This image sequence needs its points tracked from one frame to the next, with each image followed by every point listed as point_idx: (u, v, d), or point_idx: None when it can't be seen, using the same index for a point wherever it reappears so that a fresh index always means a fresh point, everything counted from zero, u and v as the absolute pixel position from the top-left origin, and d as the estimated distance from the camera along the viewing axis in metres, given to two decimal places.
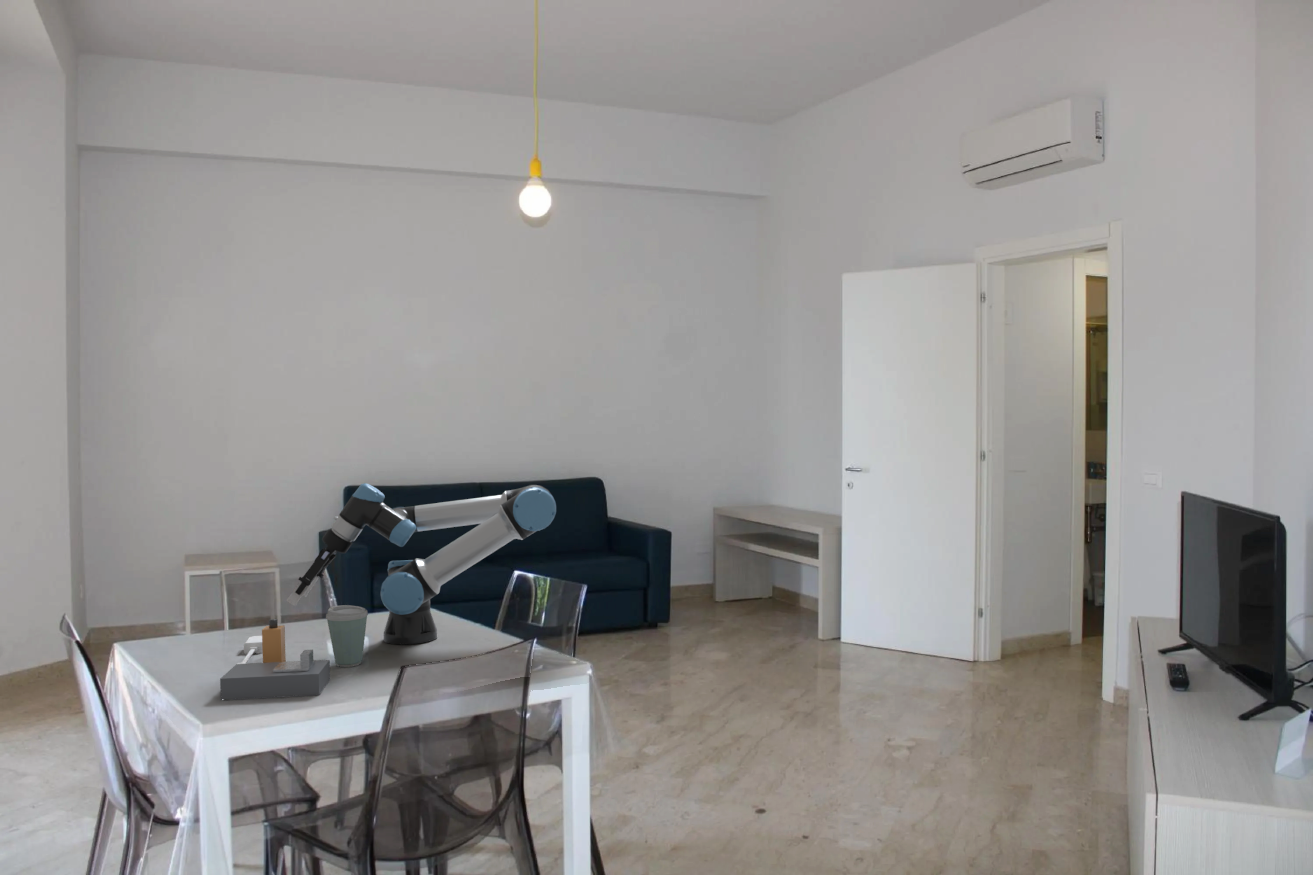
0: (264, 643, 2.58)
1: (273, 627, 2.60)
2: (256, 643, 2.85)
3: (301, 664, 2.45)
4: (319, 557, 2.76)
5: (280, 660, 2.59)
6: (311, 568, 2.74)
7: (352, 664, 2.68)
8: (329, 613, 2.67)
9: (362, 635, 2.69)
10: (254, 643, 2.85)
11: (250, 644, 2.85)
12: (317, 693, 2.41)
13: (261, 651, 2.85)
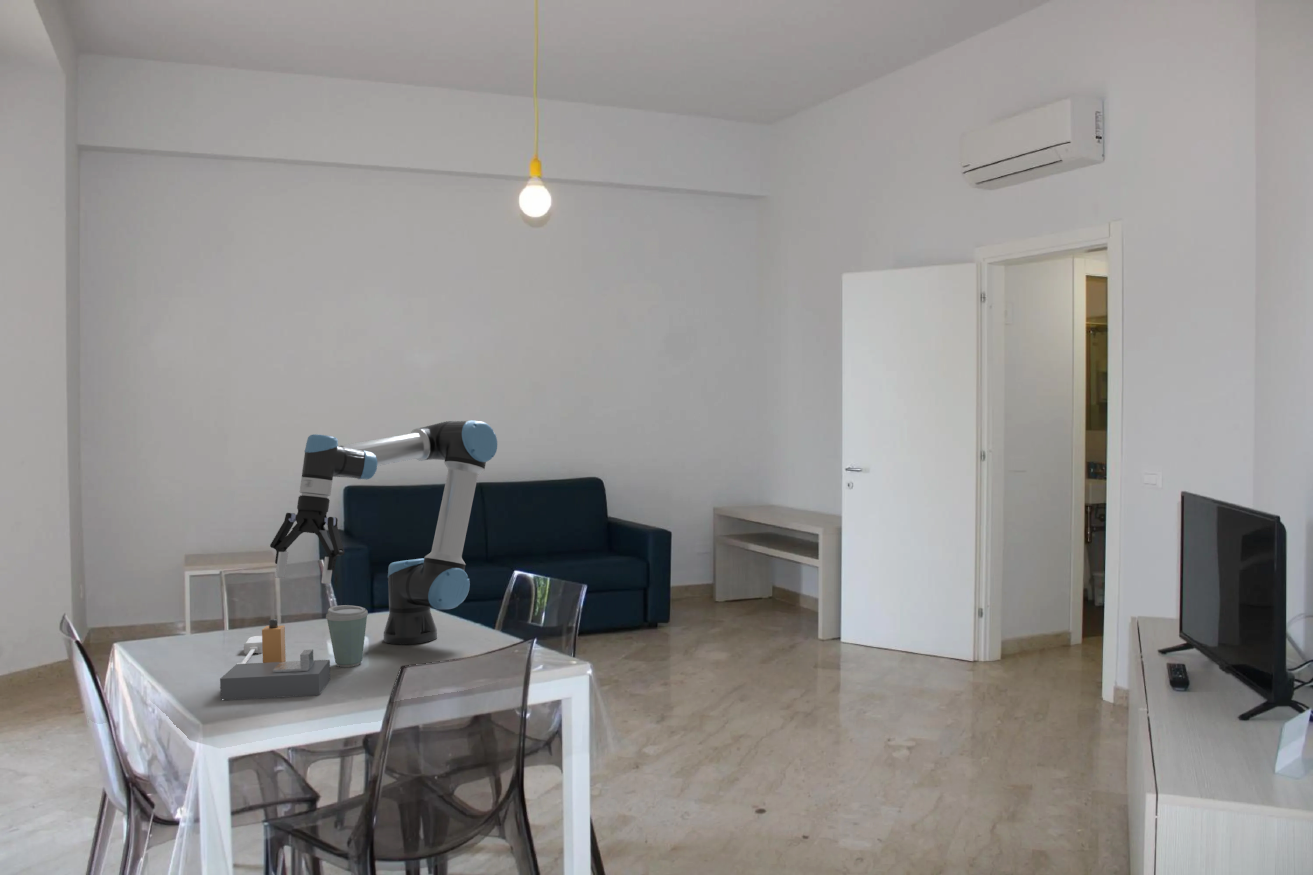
0: (264, 643, 2.58)
1: (273, 627, 2.60)
2: (256, 643, 2.85)
3: (301, 664, 2.45)
4: (332, 525, 2.56)
5: (280, 660, 2.59)
6: (336, 539, 2.56)
7: (352, 664, 2.68)
8: (329, 613, 2.67)
9: (362, 635, 2.69)
10: (254, 643, 2.85)
11: (250, 644, 2.84)
12: (317, 693, 2.41)
13: (261, 651, 2.85)
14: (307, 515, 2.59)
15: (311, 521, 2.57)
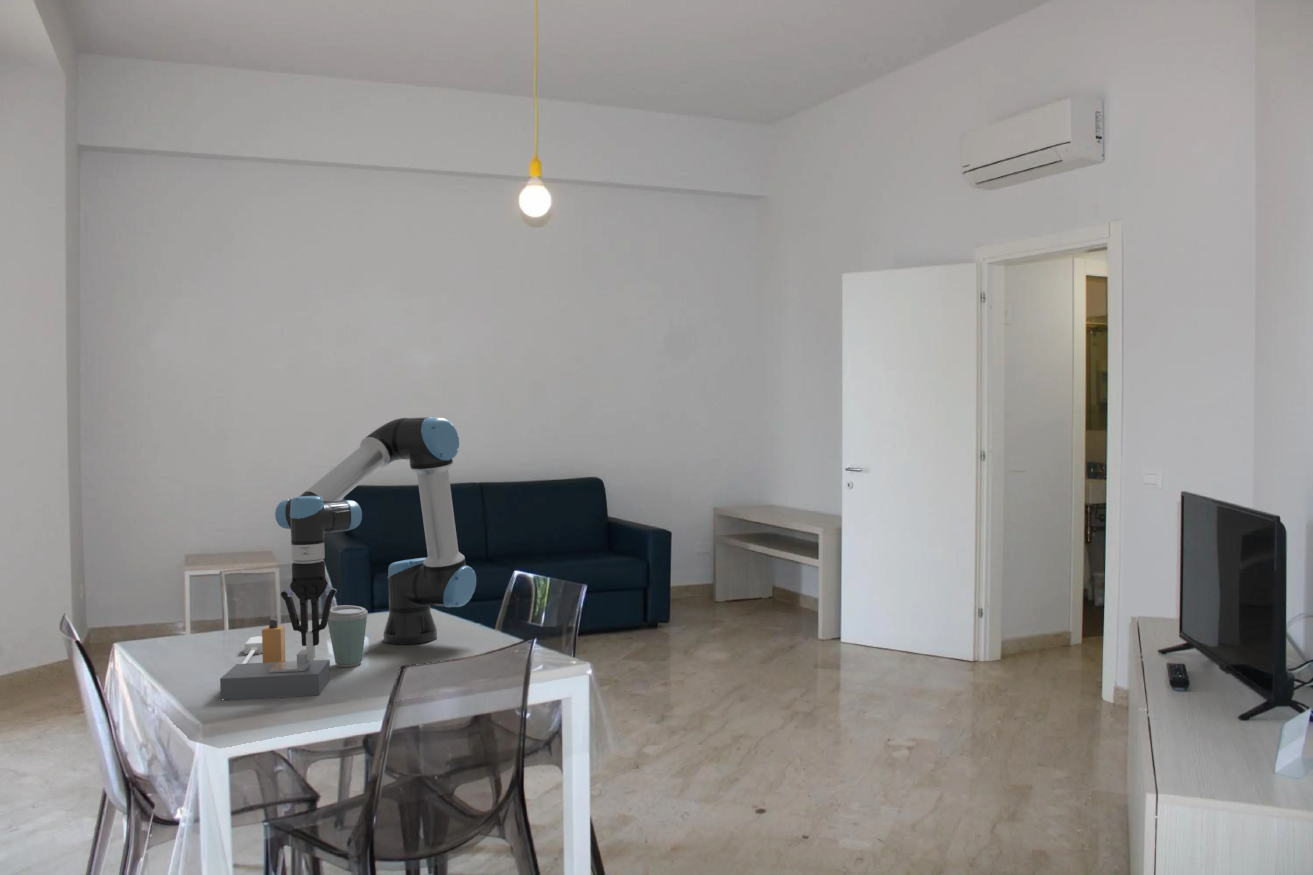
0: (264, 643, 2.58)
1: (273, 627, 2.60)
2: (256, 644, 2.84)
3: (298, 664, 2.45)
4: (331, 598, 2.47)
5: (280, 660, 2.59)
6: (328, 613, 2.47)
7: (352, 664, 2.68)
8: (329, 613, 2.67)
9: (362, 635, 2.69)
10: (254, 644, 2.84)
11: (250, 645, 2.84)
12: (317, 693, 2.41)
13: (261, 652, 2.85)
14: (305, 582, 2.46)
15: (313, 589, 2.45)
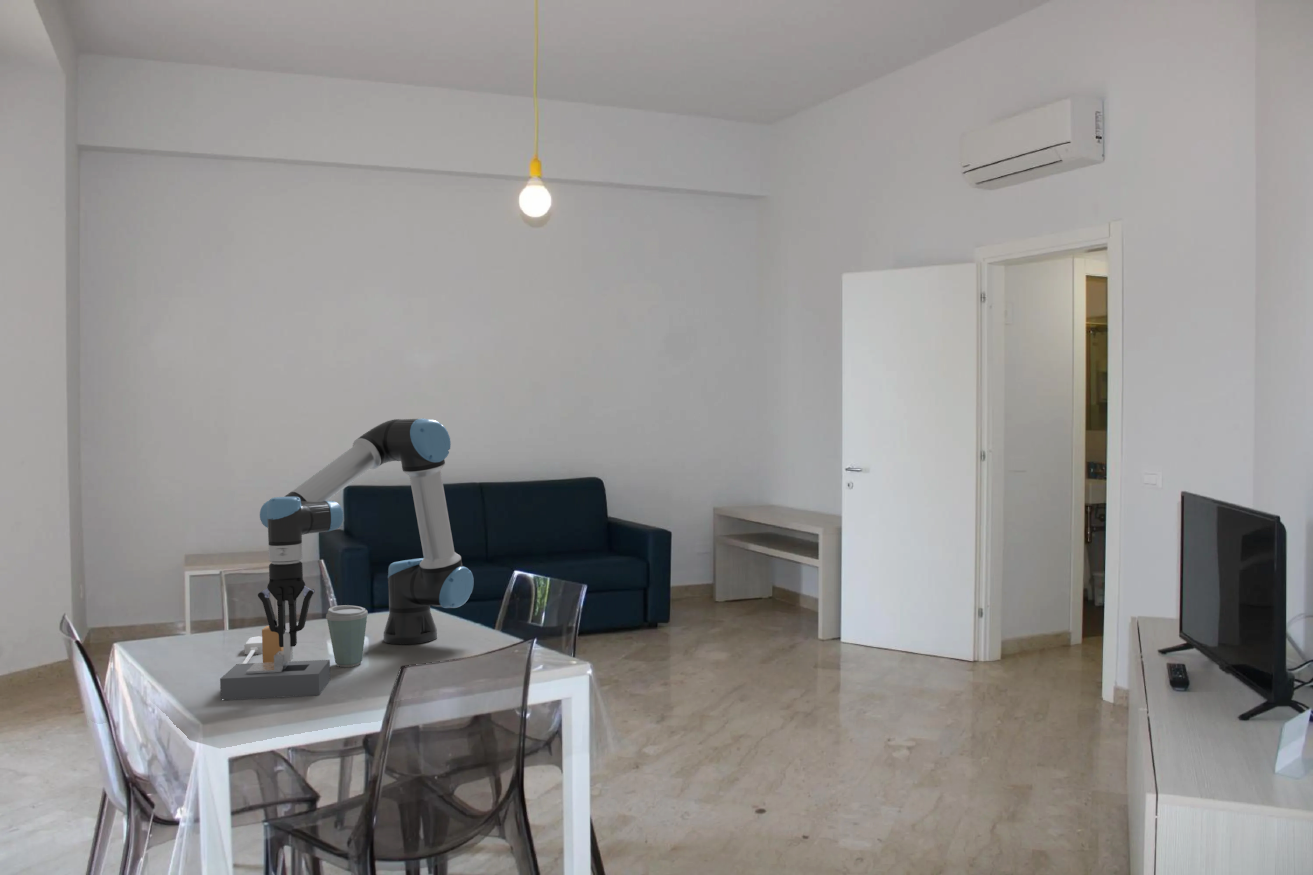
0: (264, 643, 2.58)
1: None
2: (256, 644, 2.84)
3: (275, 665, 2.44)
4: (309, 599, 2.46)
5: None
6: (305, 614, 2.46)
7: (352, 664, 2.68)
8: (329, 613, 2.67)
9: (362, 635, 2.69)
10: (254, 644, 2.84)
11: (250, 645, 2.84)
12: (317, 693, 2.41)
13: (261, 652, 2.85)
14: (283, 583, 2.45)
15: (291, 590, 2.45)
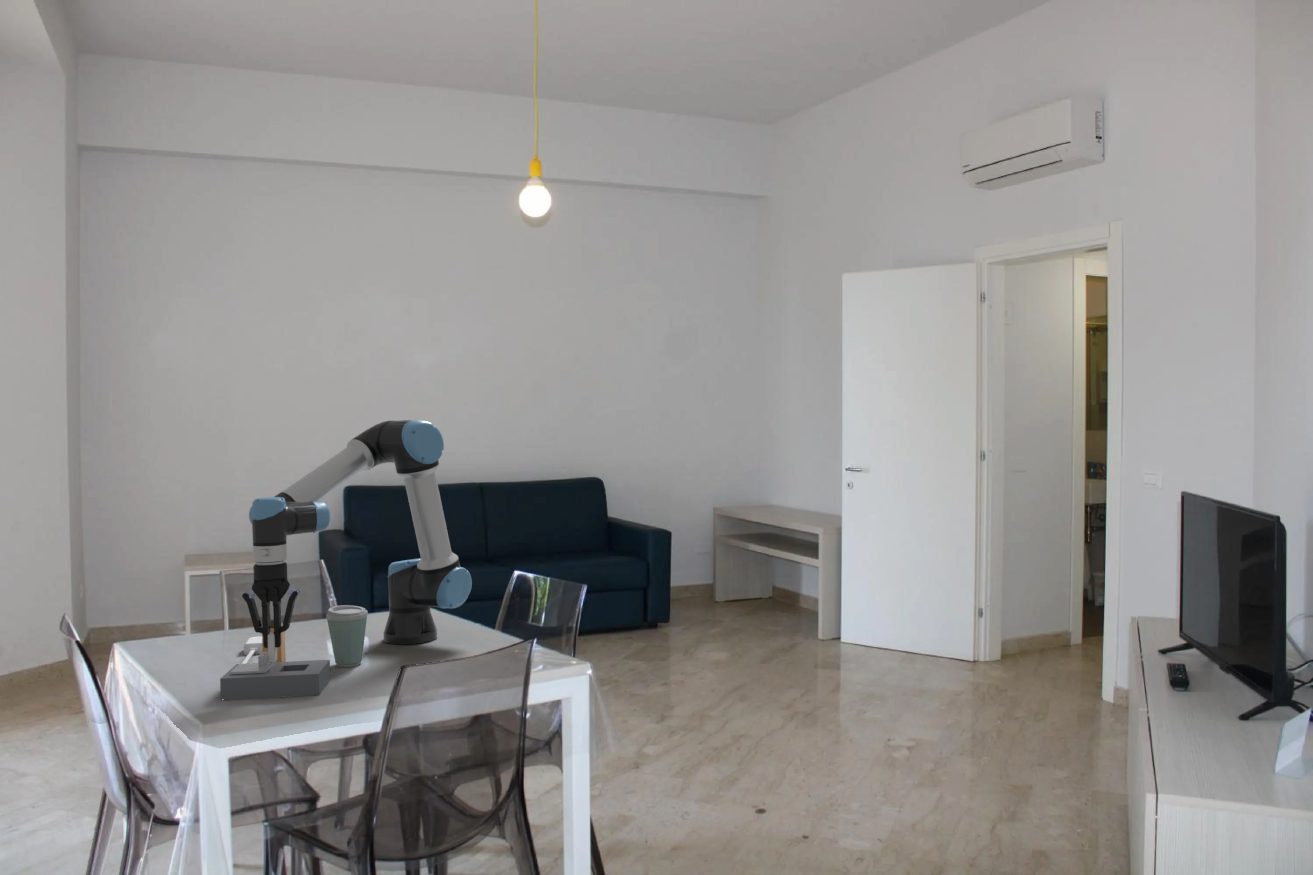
0: None
1: (273, 627, 2.60)
2: (256, 644, 2.84)
3: (259, 666, 2.44)
4: (293, 600, 2.46)
5: (280, 660, 2.59)
6: (290, 615, 2.46)
7: (352, 664, 2.68)
8: (329, 613, 2.67)
9: (362, 635, 2.69)
10: (254, 644, 2.84)
11: (250, 645, 2.84)
12: (317, 693, 2.41)
13: (261, 652, 2.84)
14: (267, 584, 2.45)
15: (275, 591, 2.44)
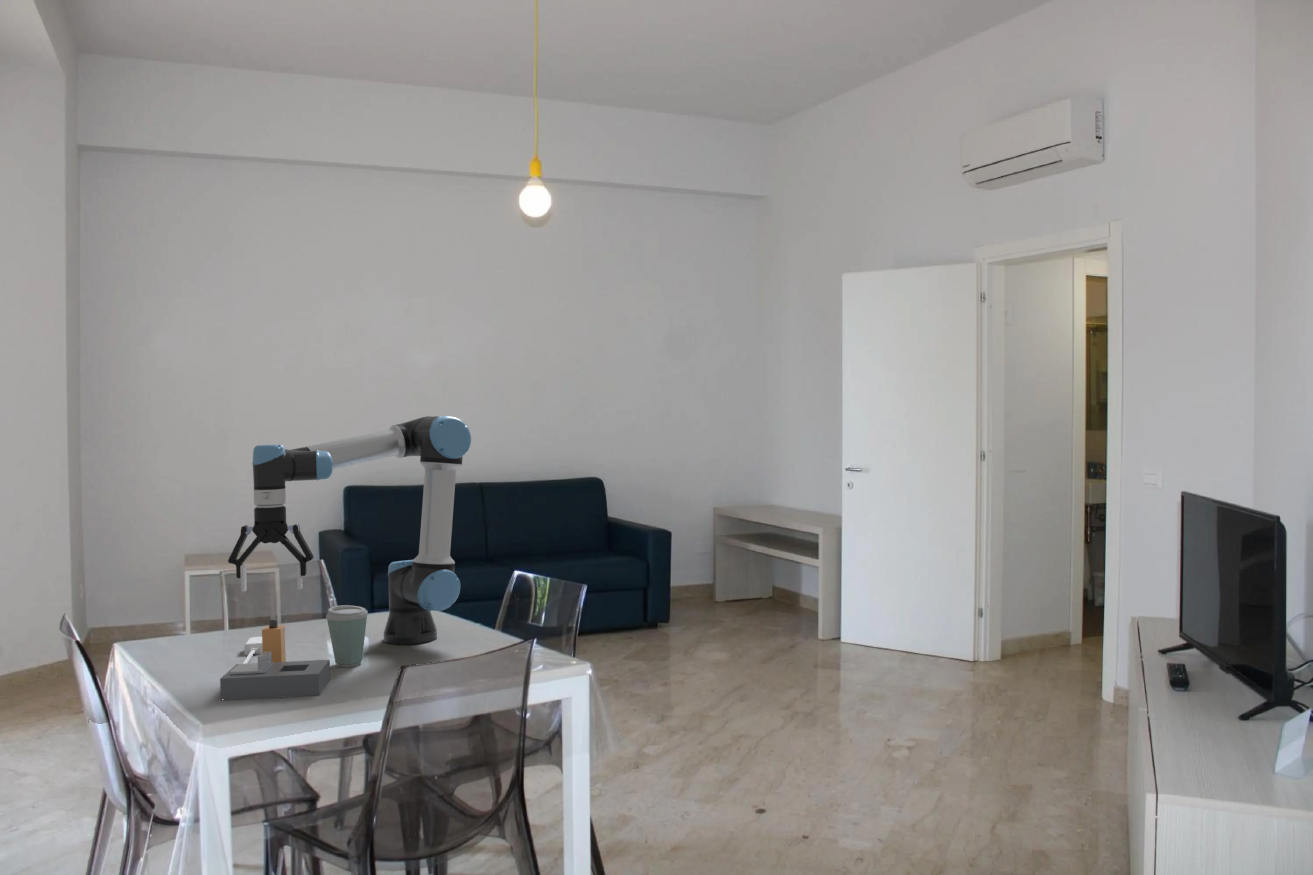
0: (264, 643, 2.58)
1: (273, 627, 2.60)
2: (256, 644, 2.84)
3: (258, 666, 2.44)
4: (298, 532, 2.60)
5: (280, 660, 2.59)
6: (305, 545, 2.60)
7: (352, 664, 2.68)
8: (329, 613, 2.67)
9: (362, 635, 2.69)
10: (254, 644, 2.84)
11: (250, 645, 2.83)
12: (317, 693, 2.41)
13: (261, 652, 2.84)
14: (267, 526, 2.59)
15: (275, 532, 2.58)
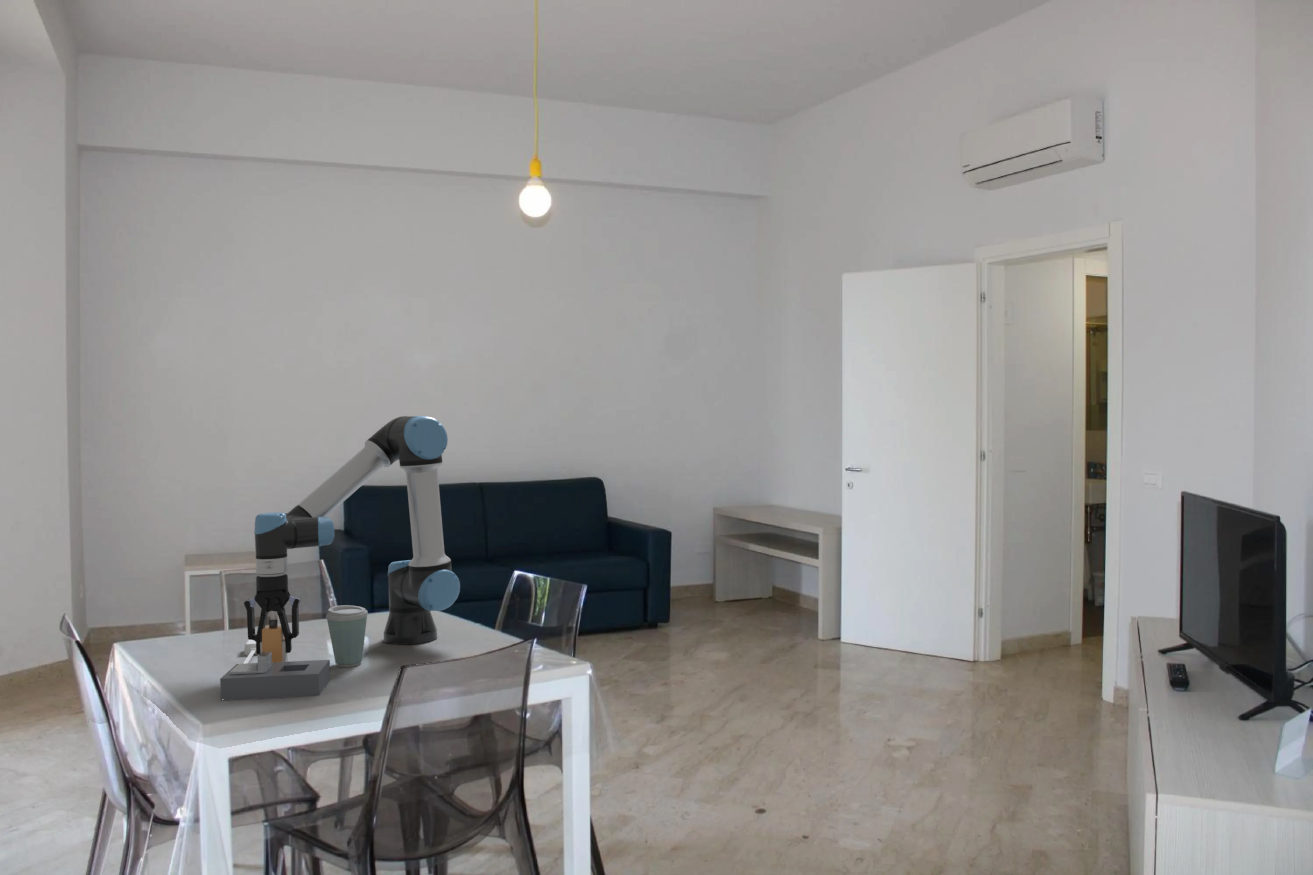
0: (264, 643, 2.58)
1: (273, 627, 2.60)
2: None
3: (258, 666, 2.44)
4: (297, 607, 2.60)
5: (280, 660, 2.59)
6: (296, 621, 2.61)
7: (352, 664, 2.68)
8: (329, 613, 2.67)
9: (362, 635, 2.69)
10: (255, 644, 2.83)
11: (251, 645, 2.83)
12: (317, 693, 2.41)
13: None
14: (269, 594, 2.59)
15: (277, 601, 2.59)
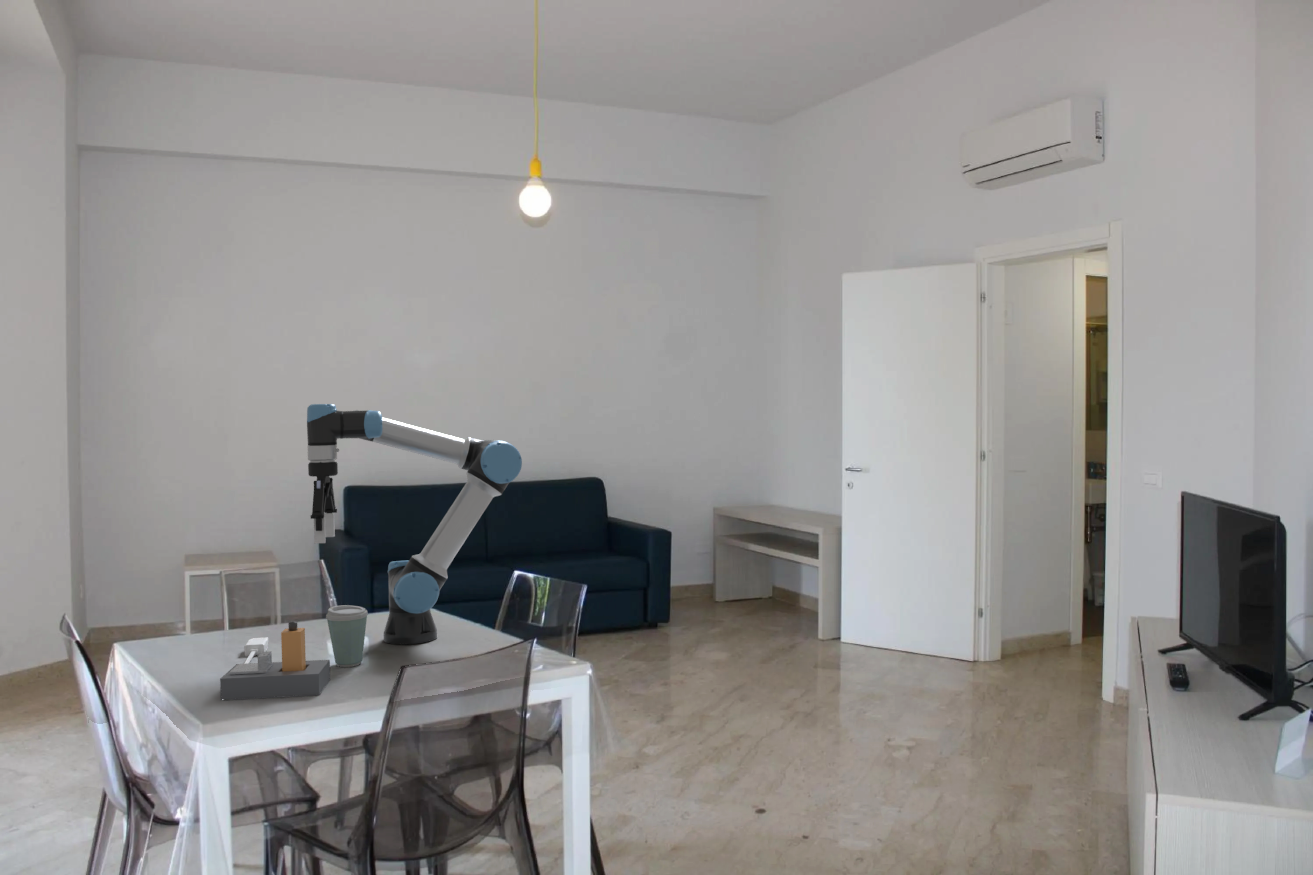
0: (301, 645, 2.45)
1: (297, 628, 2.47)
2: (256, 645, 2.82)
3: (258, 666, 2.44)
4: None
5: (305, 660, 2.49)
6: None
7: (352, 664, 2.68)
8: (329, 613, 2.67)
9: (362, 635, 2.69)
10: (255, 645, 2.82)
11: (251, 646, 2.82)
12: (317, 693, 2.41)
13: None
14: (327, 480, 2.78)
15: (331, 484, 2.80)
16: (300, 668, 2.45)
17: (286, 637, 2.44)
